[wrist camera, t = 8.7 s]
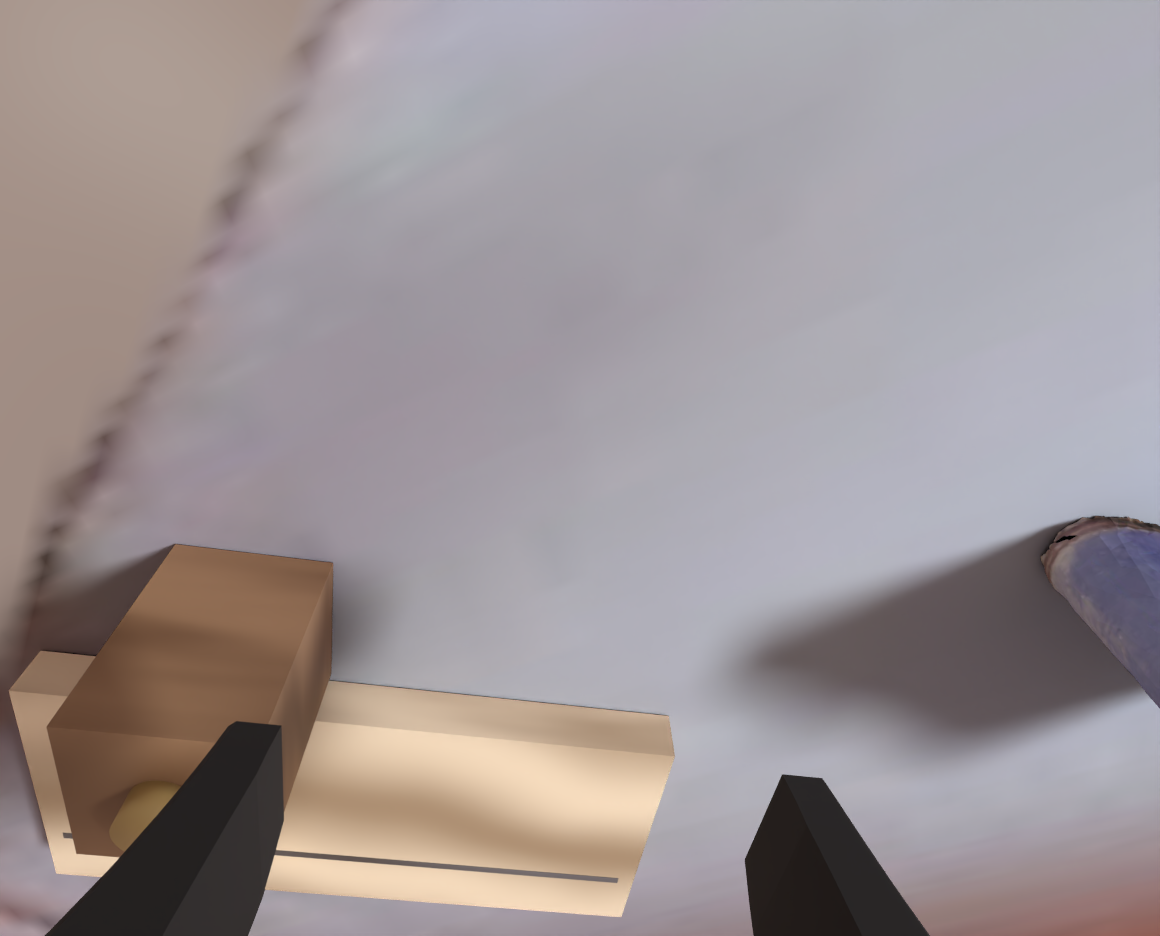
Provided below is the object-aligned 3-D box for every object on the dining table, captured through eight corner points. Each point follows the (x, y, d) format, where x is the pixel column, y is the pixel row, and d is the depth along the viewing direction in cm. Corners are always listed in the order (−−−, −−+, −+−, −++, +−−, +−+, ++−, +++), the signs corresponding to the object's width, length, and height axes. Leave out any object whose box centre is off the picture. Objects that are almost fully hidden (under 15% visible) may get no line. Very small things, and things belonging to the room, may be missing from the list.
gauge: (328, 826, 26) (262, 1062, 21) (203, 816, 26) (100, 1053, 20) (333, 562, 21) (245, 780, 15) (175, 544, 21) (22, 760, 15)
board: (618, 874, 28) (621, 917, 27) (81, 830, 26) (56, 874, 25) (668, 715, 24) (674, 757, 23) (40, 650, 22) (7, 691, 21)
